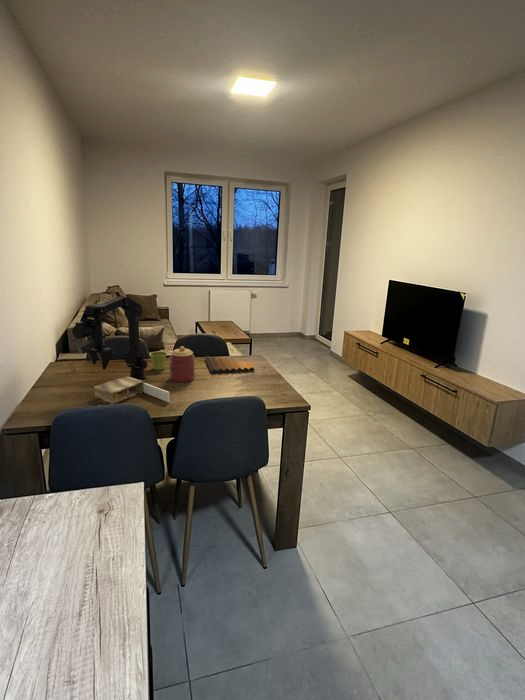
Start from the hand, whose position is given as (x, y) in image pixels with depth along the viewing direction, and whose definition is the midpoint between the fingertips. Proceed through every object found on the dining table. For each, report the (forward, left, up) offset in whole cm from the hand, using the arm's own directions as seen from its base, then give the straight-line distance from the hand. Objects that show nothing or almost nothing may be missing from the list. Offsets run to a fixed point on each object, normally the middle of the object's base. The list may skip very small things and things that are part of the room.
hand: (99, 367), depth 181 cm
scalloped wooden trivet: (-72, +21, -15) cm, 76 cm away
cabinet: (-5, +6, -14) cm, 16 cm away
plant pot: (-43, -7, -14) cm, 46 cm away
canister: (-39, +14, -14) cm, 44 cm away
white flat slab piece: (-13, +21, -14) cm, 29 cm away
